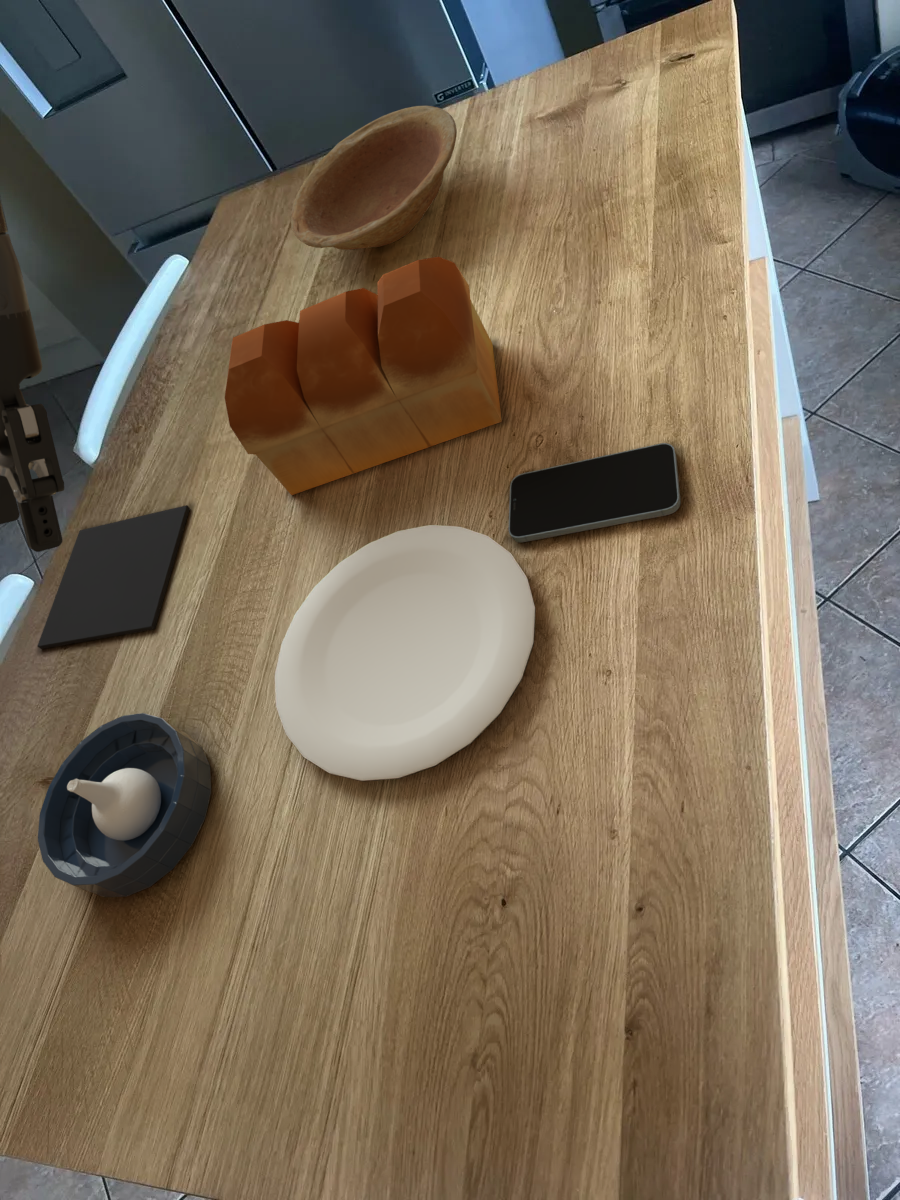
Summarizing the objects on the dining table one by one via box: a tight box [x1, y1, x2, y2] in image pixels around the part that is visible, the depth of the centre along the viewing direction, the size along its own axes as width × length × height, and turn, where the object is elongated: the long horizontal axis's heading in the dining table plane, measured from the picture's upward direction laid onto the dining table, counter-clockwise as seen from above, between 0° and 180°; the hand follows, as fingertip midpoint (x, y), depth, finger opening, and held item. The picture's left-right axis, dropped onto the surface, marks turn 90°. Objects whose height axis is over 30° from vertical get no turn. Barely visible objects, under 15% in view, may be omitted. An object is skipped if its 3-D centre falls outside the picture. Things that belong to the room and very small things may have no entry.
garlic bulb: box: [67, 768, 161, 841], centre depth 78 cm, size 6×6×8 cm
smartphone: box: [508, 442, 681, 543], centre depth 79 cm, size 7×1×15 cm
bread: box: [224, 256, 503, 496], centre depth 91 cm, size 25×12×15 cm, turn 93°
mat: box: [37, 505, 190, 650], centre depth 101 cm, size 16×16×1 cm
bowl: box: [290, 105, 458, 251], centre depth 114 cm, size 24×24×8 cm
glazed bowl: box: [37, 712, 212, 898], centre depth 80 cm, size 15×15×4 cm
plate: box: [274, 524, 537, 782], centre depth 79 cm, size 25×25×2 cm
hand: (25, 534), depth 68 cm, fingers open, 8 cm apart
